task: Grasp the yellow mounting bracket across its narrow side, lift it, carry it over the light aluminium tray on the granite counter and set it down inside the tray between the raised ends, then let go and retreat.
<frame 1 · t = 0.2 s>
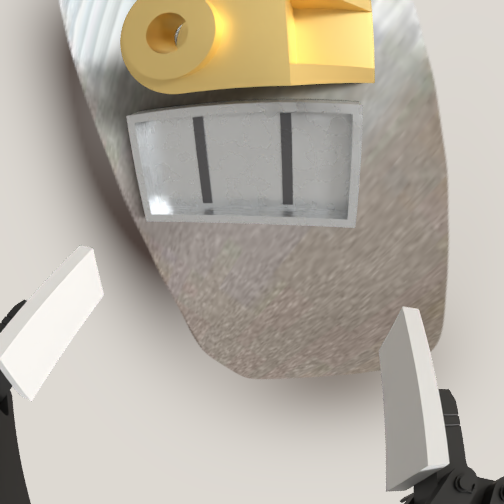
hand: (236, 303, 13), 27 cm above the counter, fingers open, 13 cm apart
tray: (245, 157, 37), on the counter
yellow mounting bracket: (275, 40, 29), on the counter
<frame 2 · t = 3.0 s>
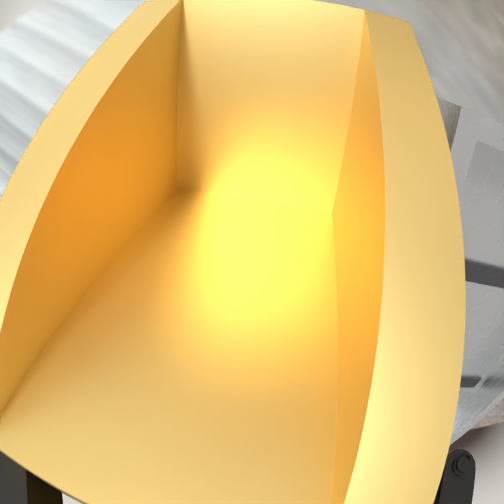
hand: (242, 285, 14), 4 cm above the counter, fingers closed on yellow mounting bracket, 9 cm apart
tray: (453, 325, 18), on the counter
yellow mounting bracket: (261, 211, 17), on the counter, touching gripper
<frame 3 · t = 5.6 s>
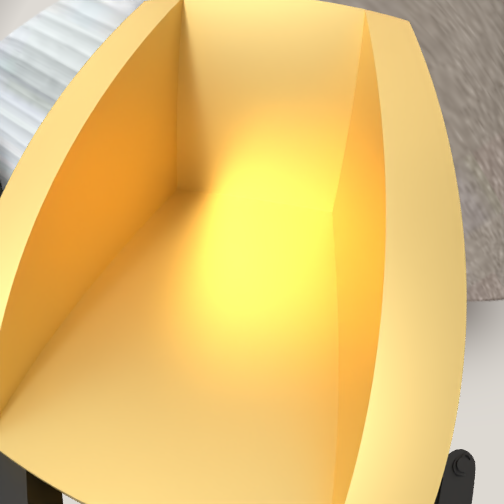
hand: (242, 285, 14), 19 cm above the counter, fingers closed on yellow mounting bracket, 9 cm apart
yellow mounting bracket: (261, 211, 16), point 15 cm above the counter, touching gripper
when the fingers open (7 cm above the counter, at t = 8.3 s): yellow mounting bracket drops 2 cm, resting on tray.
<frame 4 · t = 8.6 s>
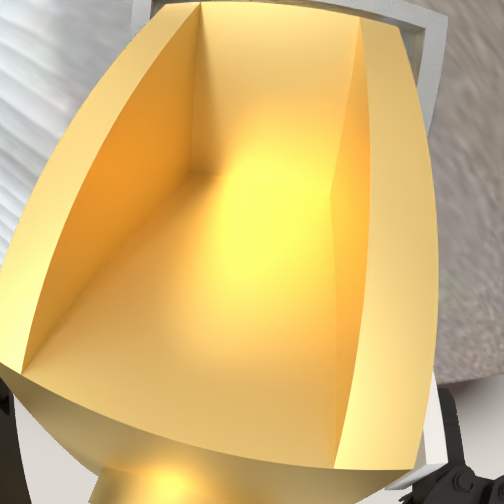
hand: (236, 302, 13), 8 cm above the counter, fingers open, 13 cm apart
tray: (266, 212, 19), on the counter
yellow mounting bracket: (264, 197, 18), point 1 cm above the counter, touching tray
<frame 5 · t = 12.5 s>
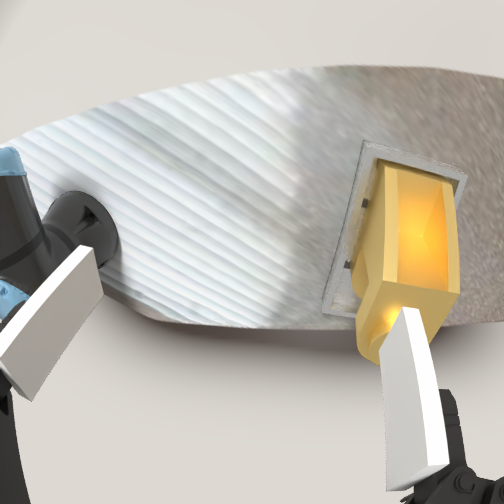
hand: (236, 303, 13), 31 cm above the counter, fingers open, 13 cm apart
tray: (387, 238, 43), on the counter
yellow mounting bracket: (391, 233, 42), point 1 cm above the counter, touching tray
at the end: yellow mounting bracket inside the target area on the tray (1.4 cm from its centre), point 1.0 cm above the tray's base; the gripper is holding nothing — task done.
